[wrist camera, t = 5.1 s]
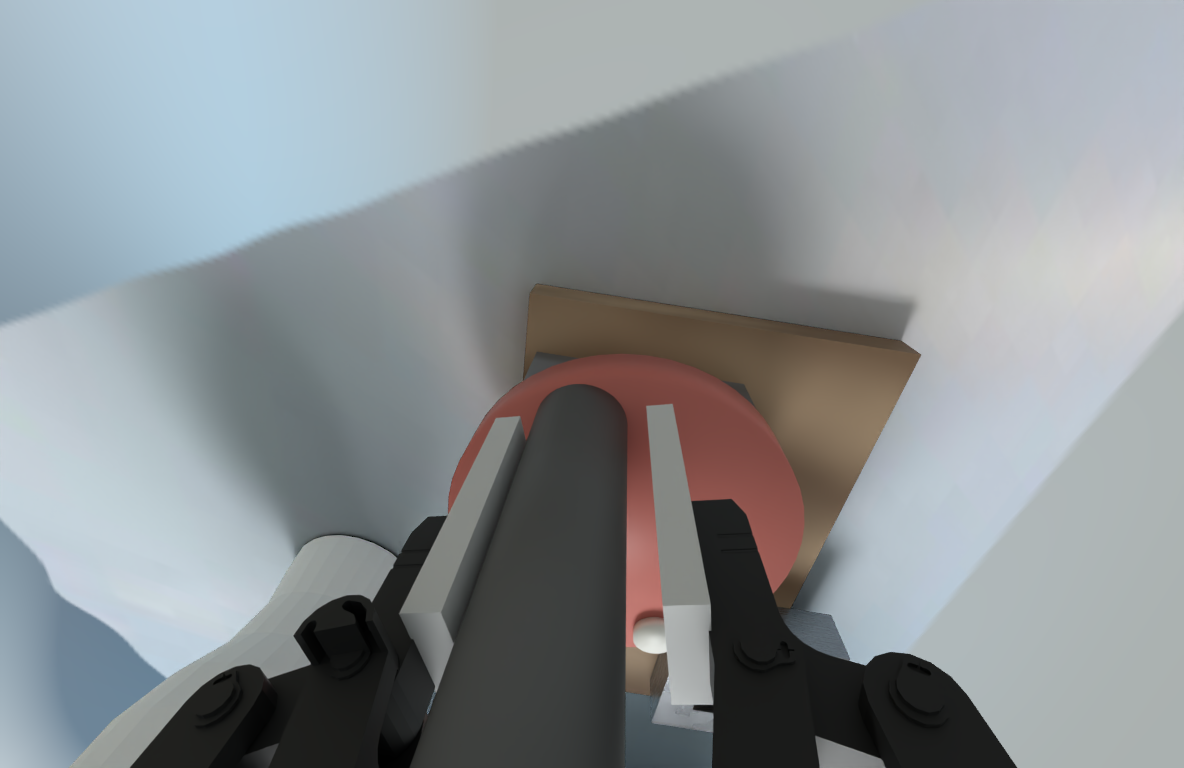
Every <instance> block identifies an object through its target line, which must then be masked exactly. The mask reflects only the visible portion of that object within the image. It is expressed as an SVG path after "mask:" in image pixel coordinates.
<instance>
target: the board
mask: <svg viewBox="0 0 1184 768" xmlns="http://www.w3.org/2000/svg"><path fill="white" fill-rule="evenodd" d="M608 354H635V355H648V356H653V357H659V358H664V359H669V360H673V361H676V362H679V363H683V364H686V365H689V366H692V367H695V368H697V369H699V370H701V371H703V372H706V373H708V374H710V375H712V376H714V377H716V378H718V379H719V380H721V381H722V382H724V383H726V384H727V385H729V386H730V387H732V388H733V389H735V390H736V391H737V392H738V393H740V394H741V395H742V396H743V397H744V398H745V399H747V400H748V401H749V402H750V403H751V404H752V405H753V406H754V407H755V408H756V410H757V411H758V412H759V413H760V414H761V415H762V417H763V418H764V419H765V420H766V422H767V424H768V425H769V427H770V428H771V430H772V432H773V433H774V435H775V437H776V438H777V440H778V442H779V444H780V446H781V448H782V450H783V452H784V454H785V456H786V458H787V460H788V462H789V464H790V466H791V468H792V470H793V472H794V475H795V477H796V479H797V482H798V484H799V487H800V490H801V495H802V500H803V504H804V531H803V538H802V544H801V546H800V549H799V552H798V555H797V558H796V561H795V562H794V564H793V566H792V568H791V570H790V572H789V574H788V575H787V577H786V578H785V579H784V581H783V582H782V583H781V585H780V586H779V587H778V589H777V590H776V591H775V592H774V593H773V595H774V598H775V601H776V604H777V607H783V608H791V606H792V605H793V603H794V601H795V599H796V597H797V595H798V593H799V591H800V589H801V587H802V585H803V583H804V581H805V579H806V577H807V575H808V573H809V572H810V570H811V568H812V566H813V564H814V562H815V560H816V558H817V556H818V554H819V552H820V550H821V548H822V546H823V544H824V542H825V540H826V539H827V537H828V535H829V533H830V531H831V529H832V527H833V525H834V523H835V521H836V519H837V517H838V515H839V513H840V511H841V509H842V507H843V506H844V504H845V502H846V500H847V498H848V496H849V494H850V492H851V490H852V488H853V486H854V484H855V482H856V480H857V478H858V476H859V474H860V473H861V471H862V469H863V467H864V465H865V463H866V461H867V459H868V457H869V455H870V453H871V451H872V449H873V447H874V445H875V443H876V442H877V440H878V438H879V436H880V434H881V432H882V430H883V428H884V426H885V424H886V422H887V420H888V418H889V416H890V414H891V412H892V410H893V409H894V407H895V405H896V403H897V401H898V399H899V397H900V395H901V393H902V391H903V389H904V387H905V385H906V383H907V381H908V379H909V377H910V376H911V374H912V372H913V370H914V368H915V366H916V364H917V362H918V360H919V358H920V356H921V354H920V353H918V352H917V351H915V350H914V349H912V348H911V347H909V346H908V345H907V344H905V343H904V342H902V341H898V340H892V339H885V338H879V337H873V336H866V335H860V334H854V333H847V332H841V331H834V330H828V329H822V328H815V327H809V326H802V325H796V324H790V323H783V322H777V321H771V320H764V319H758V318H751V317H745V316H739V315H732V314H726V313H719V312H713V311H707V310H700V309H694V308H688V307H681V306H675V305H668V304H662V303H656V302H649V301H643V300H636V299H630V298H624V297H617V296H611V295H605V294H598V293H592V292H585V291H579V290H573V289H566V288H560V287H553V286H547V285H541V284H536V285H535V287H534V288H533V289H532V291H531V292H530V295H529V308H528V322H527V335H526V348H525V361H524V374H523V381H524V380H526V379H527V378H529V377H530V376H532V375H534V374H536V373H538V372H541V371H543V370H545V369H547V368H549V367H551V366H554V365H558V364H561V363H564V362H567V361H570V360H574V359H579V358H584V357H590V356H595V355H608ZM657 657H658V654H653V653H647V652H644V651H642V650H640V649H639V648H637V647H626V691H625V692H630V693H636V694H642V695H649V696H650V677H651V674H652V672H653V669H654V666H655V663H656V660H657Z"/></svg>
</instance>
